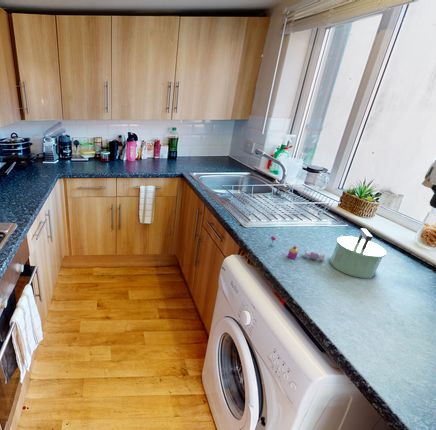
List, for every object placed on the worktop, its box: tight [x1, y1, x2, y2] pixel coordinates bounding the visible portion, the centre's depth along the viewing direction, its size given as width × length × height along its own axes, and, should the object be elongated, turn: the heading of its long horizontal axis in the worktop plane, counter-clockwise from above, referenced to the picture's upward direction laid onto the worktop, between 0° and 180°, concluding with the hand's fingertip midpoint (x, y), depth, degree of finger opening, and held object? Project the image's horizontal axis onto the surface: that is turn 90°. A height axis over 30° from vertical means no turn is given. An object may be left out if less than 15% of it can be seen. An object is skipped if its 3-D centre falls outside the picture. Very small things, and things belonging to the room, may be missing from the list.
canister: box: [329, 243, 383, 279], centre depth 102 cm, size 13×13×8 cm
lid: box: [336, 228, 387, 258], centre depth 99 cm, size 14×14×6 cm
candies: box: [270, 235, 325, 262], centre depth 109 cm, size 18×8×6 cm, turn 62°
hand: (435, 207), depth 86 cm, fingers closed
